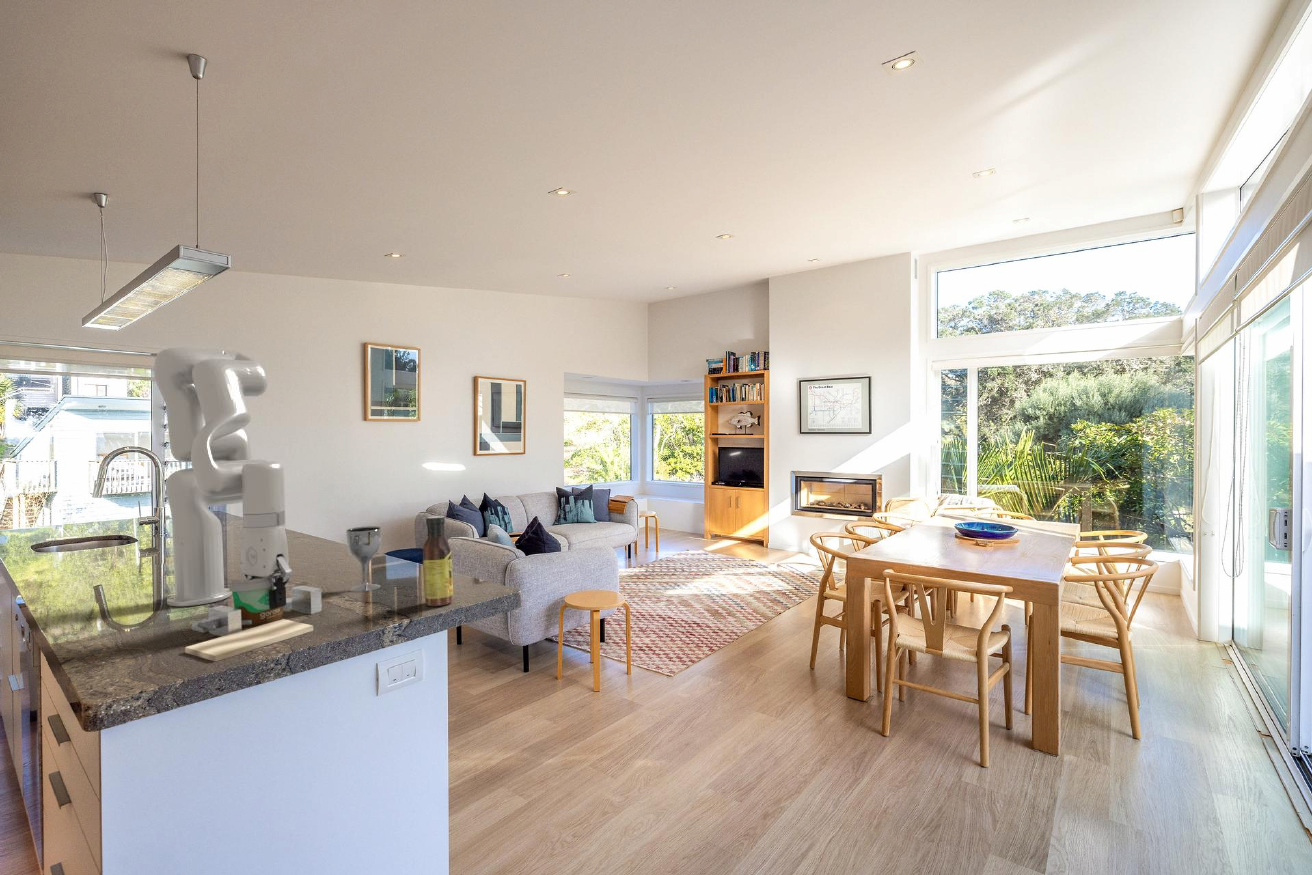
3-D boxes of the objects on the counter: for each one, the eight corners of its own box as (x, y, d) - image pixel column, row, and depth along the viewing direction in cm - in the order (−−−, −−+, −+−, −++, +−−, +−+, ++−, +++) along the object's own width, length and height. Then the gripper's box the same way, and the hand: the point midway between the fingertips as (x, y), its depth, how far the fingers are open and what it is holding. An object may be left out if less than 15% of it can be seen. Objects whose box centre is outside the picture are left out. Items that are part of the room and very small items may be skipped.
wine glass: (341, 591, 155) (339, 531, 155) (361, 583, 163) (359, 526, 162) (370, 592, 154) (368, 531, 153) (389, 584, 161) (387, 526, 161)
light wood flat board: (185, 652, 114) (185, 647, 114) (283, 623, 130) (283, 618, 130) (215, 661, 110) (215, 655, 110) (313, 630, 126) (313, 625, 126)
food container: (256, 632, 125) (254, 582, 125) (230, 630, 127) (228, 581, 126) (303, 613, 137) (301, 568, 137) (279, 612, 139) (277, 567, 138)
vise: (180, 633, 126) (179, 608, 125) (289, 603, 145) (288, 582, 145) (214, 642, 120) (213, 616, 120) (323, 610, 139) (322, 588, 139)
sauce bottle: (456, 604, 142) (454, 517, 142) (428, 609, 139) (426, 519, 138) (448, 597, 148) (446, 513, 147) (421, 602, 144) (418, 516, 144)
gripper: (222, 520, 132) (225, 604, 133) (270, 526, 124) (273, 615, 125) (258, 515, 139) (261, 595, 139) (307, 520, 131) (309, 605, 131)
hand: (267, 604), depth 132 cm, fingers closed on food container, 6 cm apart
